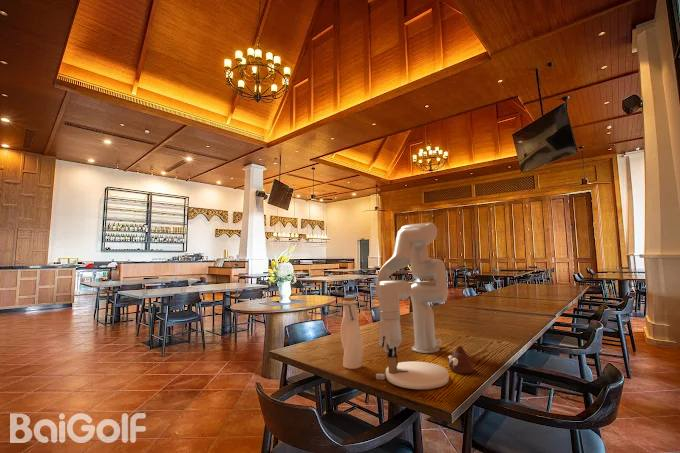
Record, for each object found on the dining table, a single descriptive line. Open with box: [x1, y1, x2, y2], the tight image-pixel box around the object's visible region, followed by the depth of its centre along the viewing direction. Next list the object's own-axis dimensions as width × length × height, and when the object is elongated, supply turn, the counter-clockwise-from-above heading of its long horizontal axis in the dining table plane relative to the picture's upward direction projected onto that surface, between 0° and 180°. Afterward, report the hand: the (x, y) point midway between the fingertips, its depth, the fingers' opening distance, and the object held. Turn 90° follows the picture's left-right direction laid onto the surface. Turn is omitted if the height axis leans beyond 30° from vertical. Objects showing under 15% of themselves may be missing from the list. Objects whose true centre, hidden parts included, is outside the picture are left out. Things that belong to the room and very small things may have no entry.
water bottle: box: [339, 295, 364, 370], centre depth 132 cm, size 10×9×28 cm
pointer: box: [375, 373, 386, 380], centre depth 116 cm, size 3×1×2 cm, turn 82°
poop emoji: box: [447, 345, 475, 375], centre depth 121 cm, size 10×8×9 cm
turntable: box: [385, 356, 450, 390], centre depth 114 cm, size 22×22×7 cm
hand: (392, 365), depth 118 cm, fingers closed
